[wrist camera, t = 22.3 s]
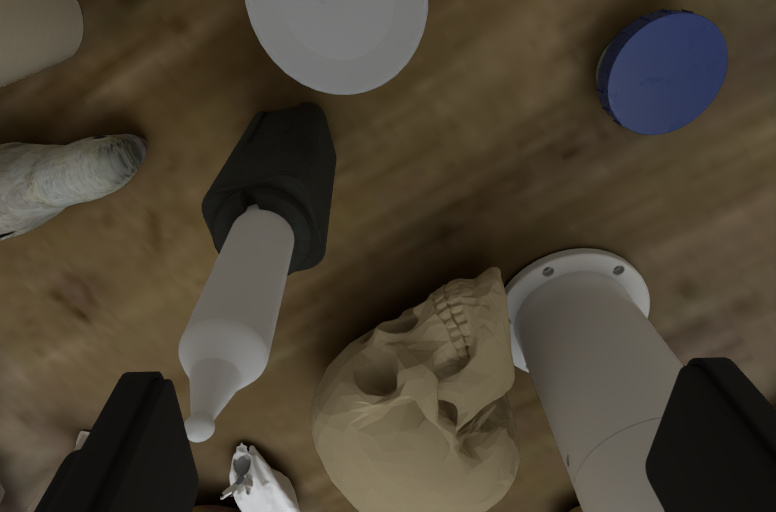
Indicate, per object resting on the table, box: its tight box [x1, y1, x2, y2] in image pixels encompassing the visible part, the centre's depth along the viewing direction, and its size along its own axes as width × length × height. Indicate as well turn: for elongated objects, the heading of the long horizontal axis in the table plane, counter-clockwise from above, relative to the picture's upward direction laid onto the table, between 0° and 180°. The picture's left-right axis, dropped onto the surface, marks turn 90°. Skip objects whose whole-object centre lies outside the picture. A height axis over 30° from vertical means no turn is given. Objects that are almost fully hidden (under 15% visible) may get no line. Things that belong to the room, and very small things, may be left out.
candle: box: [179, 102, 336, 442], centre depth 26 cm, size 5×5×25 cm
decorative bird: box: [0, 134, 147, 241], centre depth 33 cm, size 5×16×7 cm, turn 105°
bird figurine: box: [220, 443, 300, 512], centre depth 52 cm, size 5×7×10 cm
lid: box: [597, 9, 728, 135], centre depth 31 cm, size 7×7×2 cm
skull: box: [310, 267, 521, 512], centre depth 40 cm, size 14×17×20 cm
